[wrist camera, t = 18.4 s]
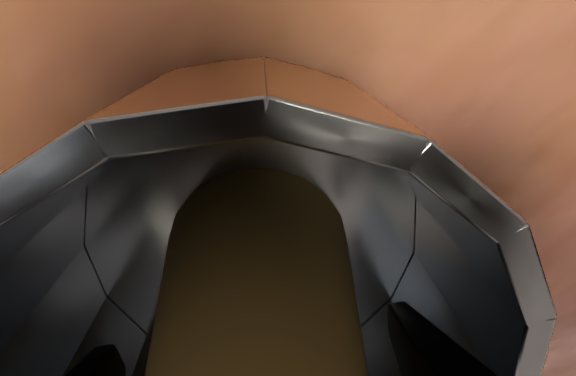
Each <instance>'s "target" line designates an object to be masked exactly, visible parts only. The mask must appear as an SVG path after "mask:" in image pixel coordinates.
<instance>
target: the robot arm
mask: <svg viewBox="0 0 576 376" xmlns="http://www.w3.org/2000/svg"><path fill="white" fill-rule="evenodd" d="M388 333H389V337H390V340H391V344H392V347H393V350H394V353H395V357H396V360H397V363H398V366H399V370H400V373H401V376H498V375H497V374H496V373H494V372H493V371H492V370H491V369H489V368H488V367H487V366H486V365H484V364H483V363H482V362H481V361H479V360H478V359H477V358H476V357H474V356H473V355H472V354H471V353H469V352H468V351H467V350H466V349H464V348H463V347H462V346H460V345H459V344H458V343H457V342H455V341H454V340H453V339H452V338H450V337H449V336H448V335H447V334H445V333H444V332H443V331H442V330H440V329H439V328H438V327H437V326H435V325H434V324H433V323H432V322H430V321H429V320H428V319H427V318H425V317H424V316H423V315H422V314H420V313H419V312H418V311H417V310H415V309H414V308H413V307H412V306H410V305H409V304H408V303H406V302H404V301H400V302H393V303H390V304H388ZM65 376H126V368H125V364H124V362H123V360H122V358H121V356H120V353H119V351H118V349H117V347H116V346H115V345H114V344H105V345H99V346H96V347H95V348H93V349H92V350H91V351H90V352H89V353H88V354H87V355H86V356H85V357H84V358H83V359H82V360H81V361H80V362H78V363H77V364H76V365H75V366H74V367H73V368H72V369H71V370H70V371H69V372H68V373H67V374H66V375H65Z"/></svg>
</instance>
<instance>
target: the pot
mask: <svg viewBox="0 0 576 376" xmlns="http://www.w3.org/2000/svg"><path fill="white" fill-rule="evenodd" d="M243 169H277V170H280V171H283V172H286V173H289V174H292V175H295V176H298V177H301V178H304V179H306V180H307V181H309V182H310V183H311V184H313V185H314V186H315V187H317V188H318V189H320V190H321V191H322V192H324V193H325V194H327V196H328V197H329V199H330V200H331V202H332V203H333V204H334V206H335V207H336V209H337V210H338V212H339V213H340V215H341V217H342V221H343V225H344V229H345V234H346V238H347V244H348V250H349V256H350V263H351V269H352V276H353V282H354V288H355V295H356V301H357V308H358V314H359V320H360V327H361V333H362V339H363V346H364V352H365V359H366V365H367V371H368V376H401V373H400V370H399V366H398V363H397V360H396V357H395V353H394V350H393V347H392V344H391V340H390V337H389V333H388V304H390V303H393V302H400V301H404V302H406V303H408V304H409V305H410V306H412V307H413V308H414V309H415V310H417V311H418V312H419V313H420V314H422V315H423V316H424V317H425V318H427V319H428V320H429V321H430V322H432V323H433V324H434V325H435V326H437V327H438V328H439V329H440V330H442V331H443V332H444V333H445V334H447V335H448V336H449V337H450V338H452V339H453V340H454V341H455V342H457V343H458V344H459V345H460V346H462V347H463V348H464V349H466V350H467V351H468V352H469V353H471V354H472V355H473V356H474V357H476V358H477V359H478V360H479V361H481V362H482V363H483V364H484V365H486V366H487V367H488V368H489V369H491V370H492V371H493V372H494V373H496V374H497V375H498V376H541V375H542V371H543V368H544V364H545V360H546V356H547V352H548V349H549V345H550V341H551V337H552V333H553V330H554V326H555V322H556V316H557V314H556V310H555V307H554V304H553V301H552V297H551V294H550V291H549V288H548V284H547V281H546V278H545V275H544V271H543V268H542V265H541V262H540V258H539V255H538V252H537V249H536V246H535V242H534V239H533V236H532V233H531V229H530V226H529V224H528V223H527V222H526V220H525V219H524V218H523V217H522V216H521V215H520V214H518V213H517V212H516V211H515V210H514V209H513V208H511V207H510V206H509V205H508V204H507V203H506V202H505V201H503V200H502V199H501V198H500V197H499V196H498V195H496V194H495V193H494V192H493V191H492V190H491V189H490V188H488V187H487V186H486V185H485V184H484V183H483V182H482V181H480V180H479V179H478V178H477V177H476V176H475V175H473V174H472V173H471V172H470V171H469V170H468V169H467V168H465V167H464V166H463V165H462V164H461V163H460V162H458V161H457V160H456V159H455V158H454V157H453V156H452V155H450V154H449V153H448V152H447V151H446V150H445V149H443V148H442V147H441V146H440V145H439V144H438V143H437V142H435V141H434V140H433V139H432V138H430V137H429V136H427V135H426V134H424V133H423V132H422V131H420V130H419V129H417V128H416V127H414V126H413V125H412V124H410V123H409V122H407V121H406V120H404V119H403V118H401V117H400V116H399V115H397V114H396V113H394V112H393V111H391V110H390V109H389V108H387V107H386V106H384V105H383V104H381V103H380V102H378V101H377V100H376V99H374V98H373V97H371V96H370V95H368V94H367V93H366V92H364V91H363V90H361V89H360V88H358V87H357V86H355V85H354V84H353V83H351V82H349V81H348V80H345V79H342V78H338V77H335V76H331V75H328V74H324V73H322V72H319V71H316V70H313V69H311V68H308V67H305V66H300V65H295V64H291V63H286V62H282V61H278V60H275V59H271V58H268V57H257V58H249V59H240V60H225V61H218V62H213V63H208V64H203V65H199V66H192V67H185V68H177V69H175V70H172V71H170V72H168V73H166V74H164V75H163V76H161V77H159V78H157V79H156V80H154V81H152V82H150V83H149V84H147V85H145V86H143V87H142V88H140V89H138V90H136V91H134V92H133V93H131V94H129V95H127V96H126V97H124V98H122V99H120V100H119V101H117V102H115V103H113V104H111V105H110V106H108V107H106V108H104V109H103V110H101V111H99V112H97V113H96V114H94V115H92V116H90V117H89V118H87V119H85V120H83V121H82V122H80V123H78V124H77V125H75V126H74V127H72V128H71V129H69V130H68V131H66V132H64V133H63V134H61V135H60V136H58V137H57V138H55V139H54V140H52V141H50V142H49V143H47V144H46V145H44V146H43V147H41V148H40V149H38V150H37V151H35V152H33V153H32V154H30V155H29V156H27V157H26V158H24V159H23V160H21V161H19V162H18V163H16V164H15V165H13V166H12V167H10V168H9V169H7V170H5V171H4V172H2V173H1V174H0V376H65V375H66V374H67V373H68V372H69V371H70V370H71V369H72V368H73V367H74V366H75V365H76V364H77V363H78V362H80V361H81V360H82V359H83V358H84V357H85V356H86V355H87V354H88V353H89V352H90V351H91V350H92V349H93V348H95V347H96V346H99V345H105V344H114V345H115V346H116V347H117V349H118V351H119V353H120V356H121V358H122V360H123V362H124V364H125V368H126V376H145V371H146V366H147V360H148V354H149V348H150V343H151V337H152V331H153V325H154V320H155V314H156V308H157V302H158V297H159V291H160V285H161V279H162V274H163V268H164V262H165V256H166V251H167V245H168V239H169V235H170V232H171V228H172V225H173V221H174V218H175V214H176V213H177V212H178V210H179V209H180V208H181V206H182V205H183V204H184V202H185V201H186V200H187V198H188V197H189V196H190V194H191V193H192V192H194V191H195V190H197V189H198V188H200V187H201V186H203V185H204V184H206V183H207V182H209V181H211V180H212V179H214V178H215V177H218V176H221V175H225V174H228V173H232V172H235V171H239V170H243Z"/></svg>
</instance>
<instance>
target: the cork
mask: <svg viewBox="0 0 576 376" xmlns="http://www.w3.org/2000/svg"><path fill="white" fill-rule="evenodd" d="M145 376H368V371H367V365H366V359H365V352H364V346H363V339H362V333H361V327H360V320H359V314H358V308H357V301H356V295H355V288H354V282H353V276H352V269H351V263H350V256H349V250H348V244H347V238H346V234H345V229H344V225H343V221H342V217H341V215H340V213H339V212H338V210H337V209H336V207H335V206H334V204H333V203H332V202H331V200H330V199H329V197H328V196H327V194H325V193H324V192H322V191H321V190H320V189H318V188H317V187H315V186H314V185H313V184H311V183H310V182H309V181H307V180H306V179H304V178H301V177H298V176H295V175H292V174H289V173H286V172H283V171H280V170H277V169H243V170H239V171H235V172H232V173H228V174H225V175H221V176H218V177H215V178H214V179H212V180H211V181H209V182H207V183H206V184H204V185H203V186H201V187H200V188H198V189H197V190H195V191H194V192H192V193H191V194H190V196H189V197H188V198H187V200H186V201H185V202H184V204H183V205H182V206H181V208H180V209H179V210H178V212H177V213H176V214H175V218H174V221H173V225H172V228H171V232H170V235H169V239H168V245H167V251H166V256H165V262H164V268H163V274H162V279H161V285H160V291H159V297H158V302H157V308H156V314H155V320H154V325H153V331H152V337H151V343H150V348H149V354H148V360H147V366H146V371H145Z"/></svg>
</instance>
